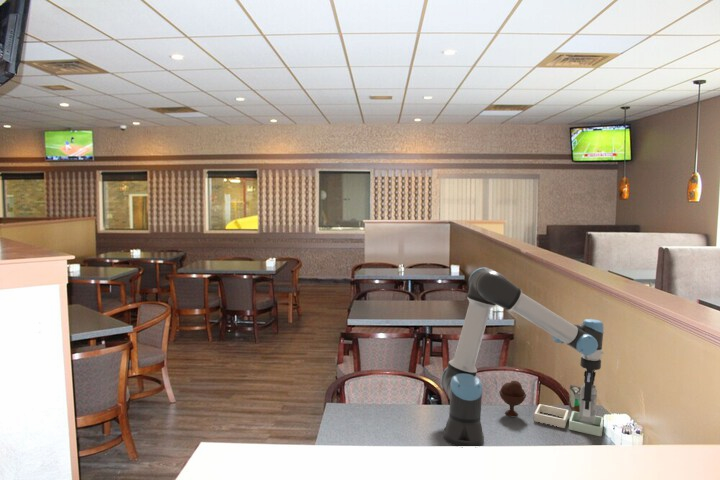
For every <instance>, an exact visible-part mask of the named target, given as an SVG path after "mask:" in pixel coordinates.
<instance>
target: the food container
mask: <svg viewBox="0 0 720 480" xmlns="http://www.w3.org/2000/svg"><path fill="white" fill-rule="evenodd" d="M581 387H582V386H578V385H575V384H569V397H568V398H569V399H568V400H569V401H568V407H569V411H571V413H572V411H576V412H579V409H580V394H581Z"/></svg>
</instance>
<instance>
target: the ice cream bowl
mask: <svg viewBox="0 0 720 480" xmlns="http://www.w3.org/2000/svg"><path fill="white" fill-rule="evenodd" d="M499 396H500V398H501V400H502V401H504V403H505V404H506V405H508V406H509V409H508V410H506V411H505V412H504V414H505V416H507V415H508V416H507V417H511V416H517V417H518V416H519V414H518V412H517V411H515V407H516V406H519V405H520V404H522V403H523V402H524V401H525V399H526V397H527V394H526V391H525V390H524V388H523V387H522V384H521V382H519V381H517V380H511V381H510V382H505V383H504V384H502V386H501V388H500V390H499Z"/></svg>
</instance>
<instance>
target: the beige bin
mask: <svg viewBox="0 0 720 480" xmlns="http://www.w3.org/2000/svg"><path fill="white" fill-rule="evenodd" d="M569 411H570V409H567V408H566V409H565V408H560V407H556V406H551V405H546V404H541V403H539V404H538V405H537V407H536V409H535V411H534V415H533V416H534V417H533V421H535V423H538V422H540V423H539V424H543V423H546V424H545V425H547V424H550V425H549V426H552V425H554V426H553V427H556V426H557V427H558V428H561V429H566V425H567V422H568V421H569ZM540 412H543V413H540ZM544 413H548V414H553V415H556V416H553V415H548V414H544ZM558 416H559V417H558Z"/></svg>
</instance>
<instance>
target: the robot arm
mask: <svg viewBox="0 0 720 480" xmlns="http://www.w3.org/2000/svg"><path fill="white" fill-rule="evenodd" d="M466 298H467V300H468V302H469V303H468V306H467V310H466V314H465V316H464V321H463V325H462V328H461V332H460V336H459V337H458V338H459V339H458V343H457V347H456V350H455V354H454V355H453V358H452V359H451V360H449V361H448V364H447V367H446V368H445V369H444V371H443V372H442V375H441V384H442V388H443V390H444V391H445V394H446V396H447V397H448V399H449V411H448V412H449V414H448V415H449V416H448V418H447V421H446V424H445V427H444V428H443V439H444V440H445V442H447V443H448V444H450V445H453V446H455V447H458V446H479V447H480V446H483V445H484V443H485V433H484V431H483V427H482V422H481V416H482V415H481V414H482V401H483V398H482V397H483V396H482V395H483V390H484V389H483V383H482V381H481V380H480V379H479V378H478V377H477V372H478V369H477V368H476V366H475V365H476V361H477V359H478V355H479V351H480V348H481V344H482V340H483V337H484V334H485V329H486V328H487V327H486V326H487V322H488V320H489V316H490V312H491V309H493V308H494V307H496V306H498V307H500V308H502V309H504V310H506V311H512V312H514V313H515V314H518V315H519V316H520V317H522V318H524V319H525V320H527V321H529V322H530V323H532V324H534V325H535V326H536V327H538V328H540V329H542V330H543V331H545V332H546V333H548V334H550V335H551V336H552V337H551V338H552V340H553V342H555V343H559V344H566V345H568V346H569V347H570V348H573V349H574V350H575V351H577V352H579V353H580V356H581V357H580V366H581V368H583V369H585V370H584V373H583V374H584V375H583V376H584V380H583V381H584V383H583V384H585V389H584V399H582V400H583V401H584V404H583V416H585V417H590V412H591V393H592V385H594V384H595V379H596V371H599V370H601V368H602V360H601V359H602V355H603V354H604V351H602V350H603V340H604V339H603V338H604V334H605V332H604V323H603V322H602V320H598V319H594V318H586V319H584V320H583V323H581V324H573V323H571V322H570V321H568V320H566V319H565V318H563V316H560V315H558V314H557V313H555V312H553V311H552V310H550V309H549V308H547V307H545V306H544V305H542V303H539V302H538V301H536V300H534V299H533V298H531V297H530V296H528V295H526V294H524V293H523V291H522V288H520V287H518V286H517V285H515V284H514V283H513V282H511V281H510V280H509V279H508V278H507V277H506V276H504V275H503V274H502V273H500V272H498V271H496V270H494V269H492V268H489V267H479V268H476V269H475V270H473V272H472V273H471V274H470V275H469V278H468V293H467V296H466Z"/></svg>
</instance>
